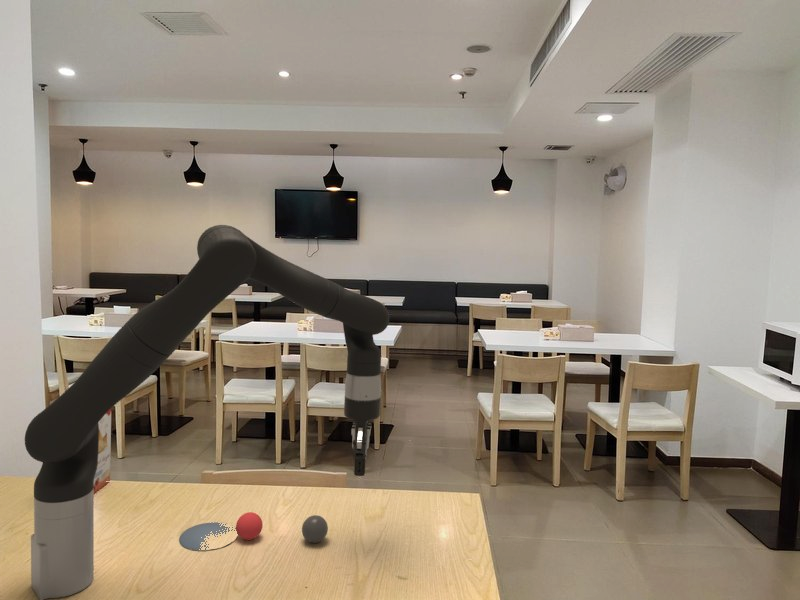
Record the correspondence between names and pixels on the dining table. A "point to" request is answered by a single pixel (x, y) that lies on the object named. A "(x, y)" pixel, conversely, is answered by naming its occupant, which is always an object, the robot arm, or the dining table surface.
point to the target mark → (200, 534)
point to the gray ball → (314, 528)
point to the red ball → (249, 526)
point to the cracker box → (103, 452)
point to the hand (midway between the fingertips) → (359, 474)
